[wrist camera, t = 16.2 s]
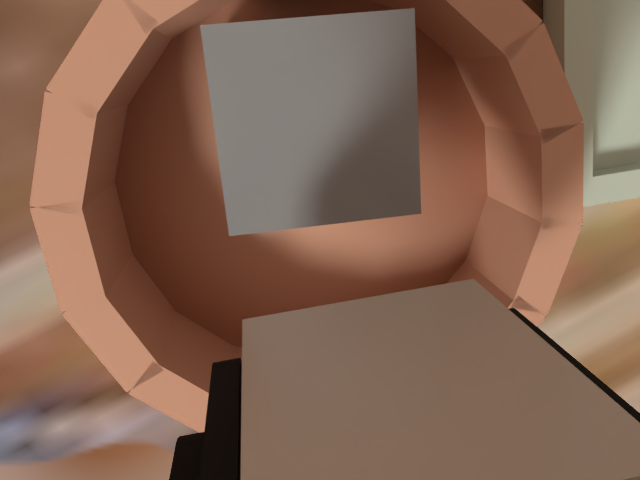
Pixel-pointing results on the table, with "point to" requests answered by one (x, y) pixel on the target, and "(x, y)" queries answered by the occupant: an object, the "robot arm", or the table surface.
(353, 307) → the beige block
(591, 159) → the parts tray
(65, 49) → the table surface
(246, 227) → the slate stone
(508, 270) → the bowl
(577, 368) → the robot arm
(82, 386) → the table surface
